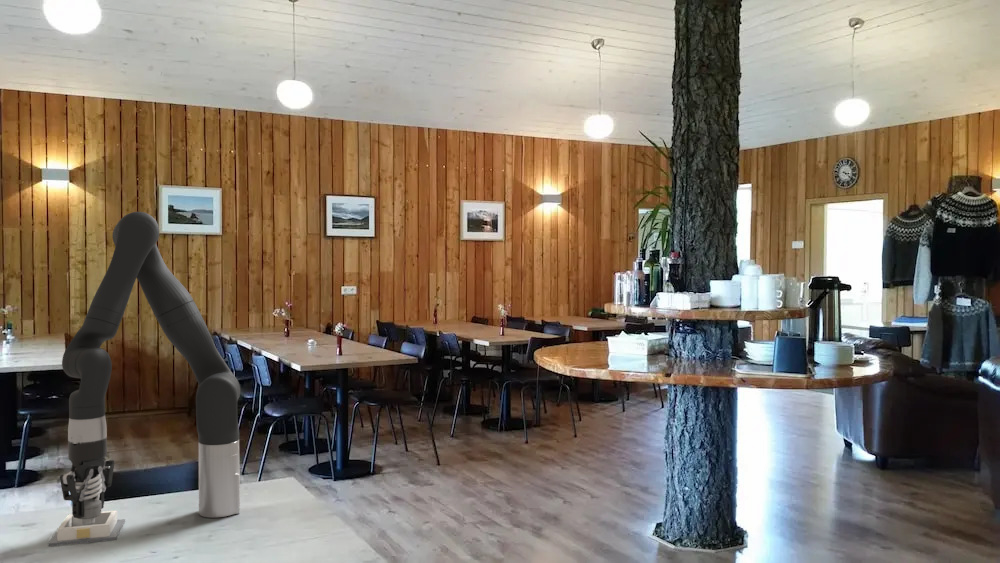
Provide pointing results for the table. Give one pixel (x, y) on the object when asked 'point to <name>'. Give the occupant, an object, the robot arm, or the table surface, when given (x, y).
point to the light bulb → (91, 500)
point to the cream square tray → (87, 527)
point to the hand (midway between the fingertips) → (88, 512)
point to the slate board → (112, 536)
